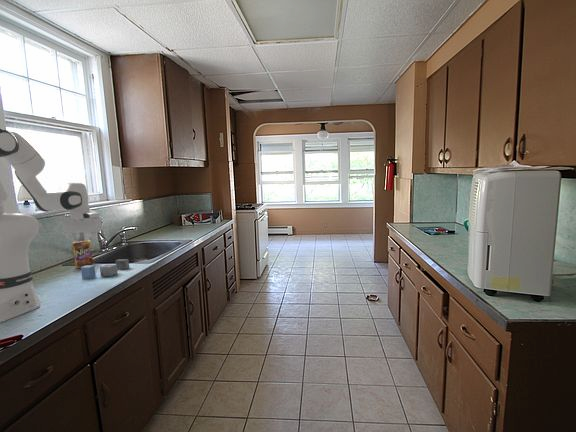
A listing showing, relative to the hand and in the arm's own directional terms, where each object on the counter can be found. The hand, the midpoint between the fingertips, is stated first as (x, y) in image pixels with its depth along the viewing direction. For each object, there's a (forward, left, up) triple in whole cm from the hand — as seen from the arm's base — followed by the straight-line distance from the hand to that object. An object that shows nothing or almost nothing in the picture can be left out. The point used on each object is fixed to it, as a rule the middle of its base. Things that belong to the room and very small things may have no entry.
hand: (84, 240), depth 164 cm
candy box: (+19, +18, -20) cm, 33 cm away
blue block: (0, 0, -20) cm, 20 cm away
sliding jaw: (+3, -9, -20) cm, 22 cm away
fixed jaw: (+15, -9, -20) cm, 26 cm away
